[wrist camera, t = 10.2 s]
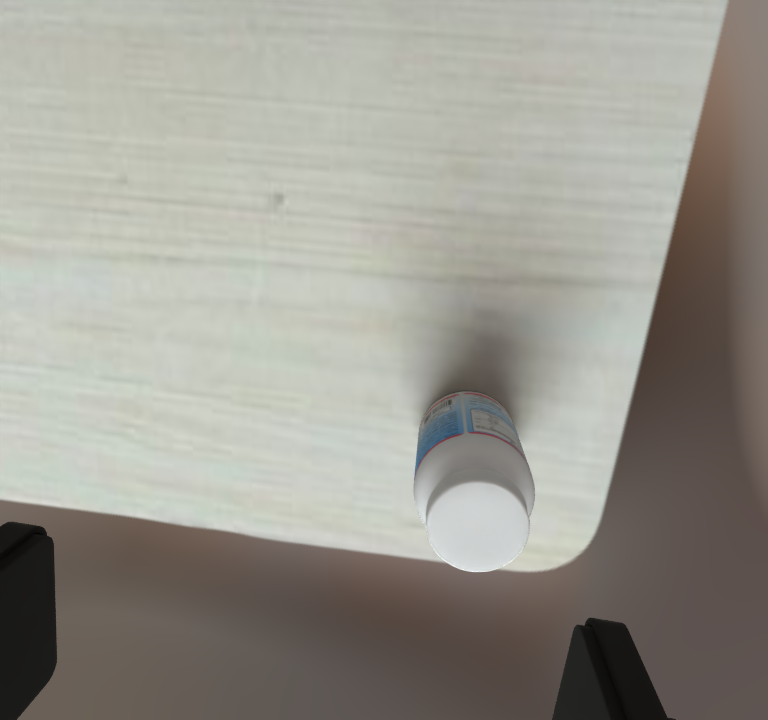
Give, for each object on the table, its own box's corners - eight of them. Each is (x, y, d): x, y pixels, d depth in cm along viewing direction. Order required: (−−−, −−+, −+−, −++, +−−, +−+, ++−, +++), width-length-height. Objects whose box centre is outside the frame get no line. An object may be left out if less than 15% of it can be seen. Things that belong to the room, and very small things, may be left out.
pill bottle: (430, 485, 38) (424, 596, 27) (410, 398, 36) (395, 477, 26) (523, 470, 37) (556, 578, 26) (506, 380, 36) (533, 454, 25)
